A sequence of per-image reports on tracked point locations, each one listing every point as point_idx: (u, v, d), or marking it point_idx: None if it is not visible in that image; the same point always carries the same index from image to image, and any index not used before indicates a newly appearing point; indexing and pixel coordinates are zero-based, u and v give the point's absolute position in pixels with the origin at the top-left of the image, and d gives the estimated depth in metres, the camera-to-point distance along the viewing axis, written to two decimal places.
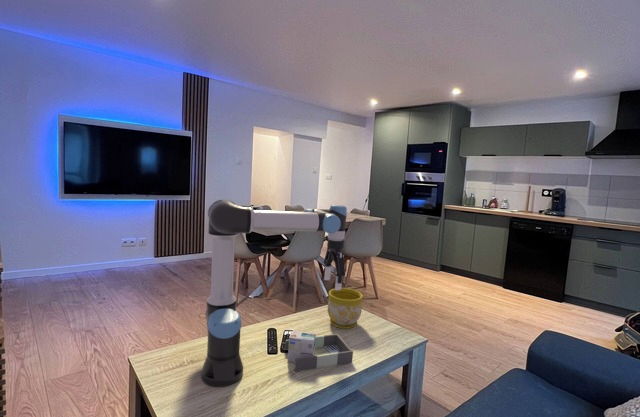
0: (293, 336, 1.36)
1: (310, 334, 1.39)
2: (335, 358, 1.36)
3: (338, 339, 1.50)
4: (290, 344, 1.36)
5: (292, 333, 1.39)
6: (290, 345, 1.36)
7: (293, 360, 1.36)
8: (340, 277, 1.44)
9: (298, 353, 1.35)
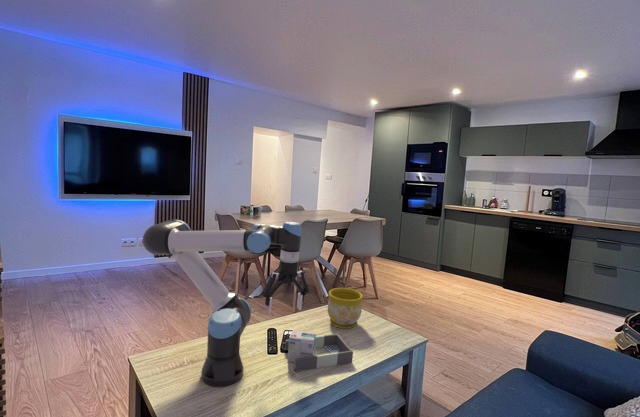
0: (293, 336, 1.36)
1: (310, 334, 1.39)
2: (335, 358, 1.36)
3: (338, 339, 1.50)
4: (290, 344, 1.36)
5: (292, 333, 1.39)
6: (290, 345, 1.36)
7: (293, 360, 1.36)
8: (266, 298, 1.31)
9: (298, 353, 1.35)
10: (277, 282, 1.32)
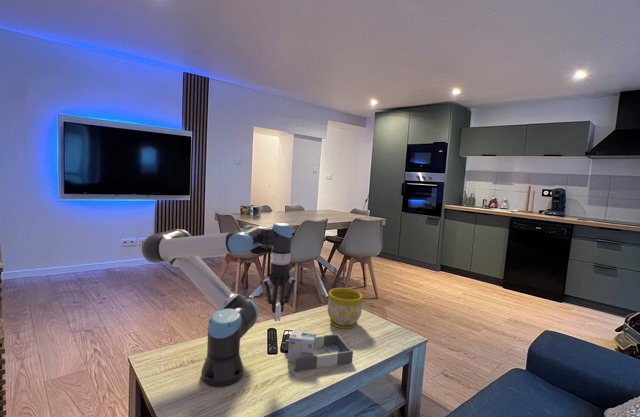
0: (293, 336, 1.36)
1: (310, 334, 1.39)
2: (335, 358, 1.36)
3: (338, 339, 1.50)
4: (290, 344, 1.36)
5: (292, 333, 1.39)
6: (290, 345, 1.36)
7: (293, 360, 1.36)
8: (272, 305, 1.32)
9: (298, 353, 1.35)
10: (273, 287, 1.31)
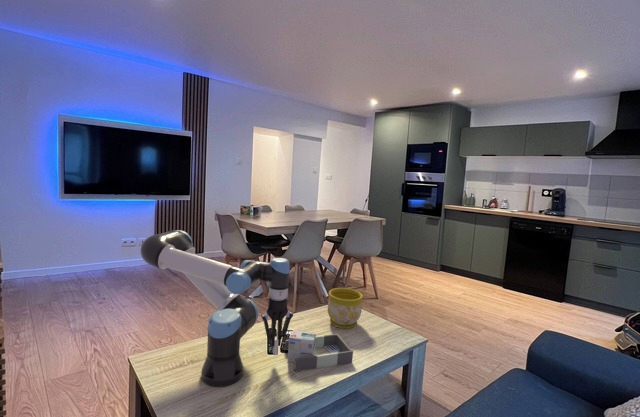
0: (293, 336, 1.36)
1: (310, 334, 1.39)
2: (335, 358, 1.36)
3: (338, 339, 1.50)
4: (290, 344, 1.36)
5: (292, 333, 1.39)
6: (290, 345, 1.36)
7: (293, 360, 1.36)
8: (271, 339, 1.33)
9: (298, 353, 1.35)
10: (272, 322, 1.32)
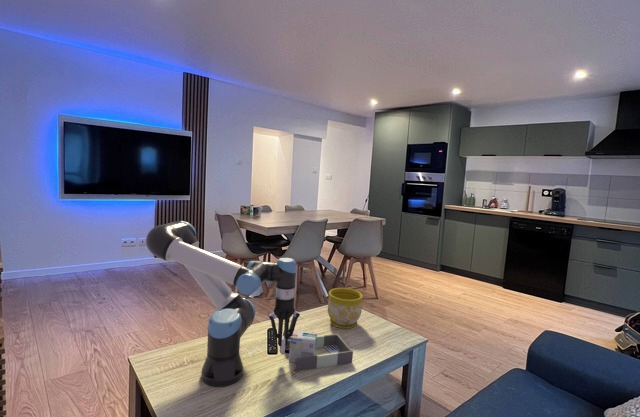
0: (294, 336, 1.36)
1: (311, 334, 1.39)
2: (335, 358, 1.36)
3: (338, 339, 1.50)
4: (291, 344, 1.36)
5: (293, 333, 1.39)
6: (291, 345, 1.36)
7: (294, 360, 1.36)
8: (278, 338, 1.34)
9: (299, 353, 1.36)
10: (279, 321, 1.33)
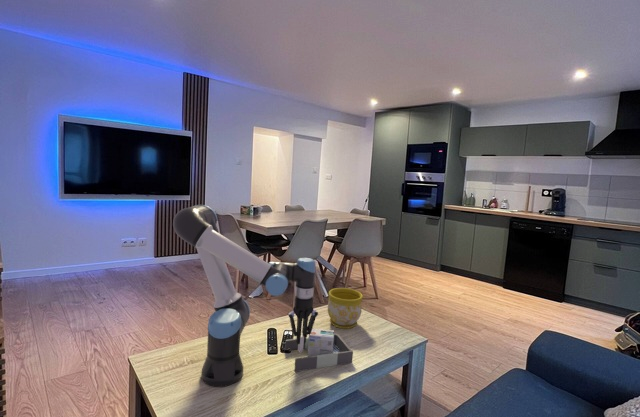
0: (313, 333, 1.39)
1: (329, 331, 1.42)
2: (335, 358, 1.36)
3: (338, 339, 1.50)
4: (310, 341, 1.39)
5: (311, 331, 1.42)
6: (310, 342, 1.39)
7: None
8: None
9: (318, 350, 1.39)
10: (298, 320, 1.36)
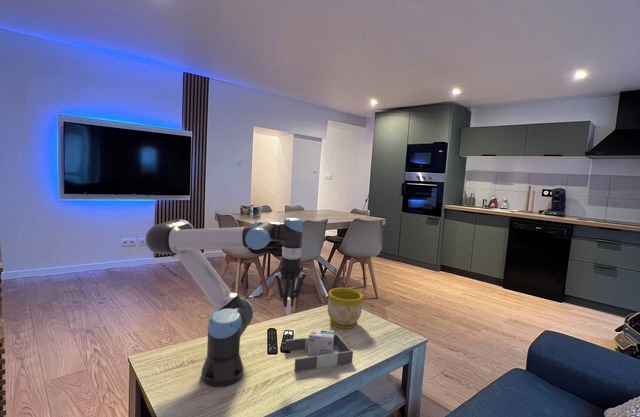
0: (313, 334, 1.39)
1: (329, 331, 1.42)
2: (335, 358, 1.36)
3: (338, 339, 1.50)
4: (310, 341, 1.39)
5: (311, 331, 1.42)
6: (310, 342, 1.39)
7: None
8: None
9: (318, 350, 1.39)
10: (285, 281, 1.33)
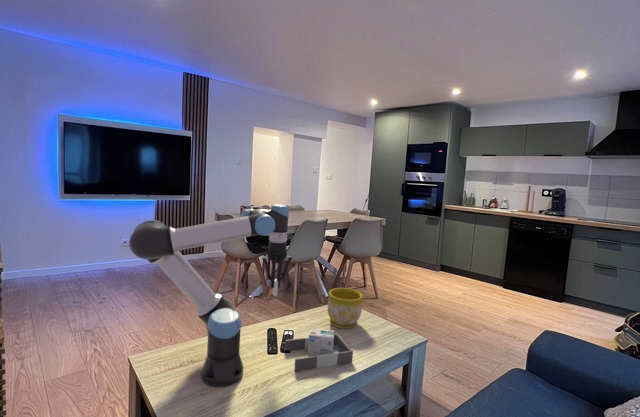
0: (313, 334, 1.39)
1: (329, 331, 1.42)
2: (335, 358, 1.36)
3: (338, 339, 1.50)
4: (310, 341, 1.39)
5: (311, 331, 1.42)
6: (310, 342, 1.39)
7: None
8: (271, 281, 1.42)
9: (318, 350, 1.39)
10: (272, 264, 1.41)
